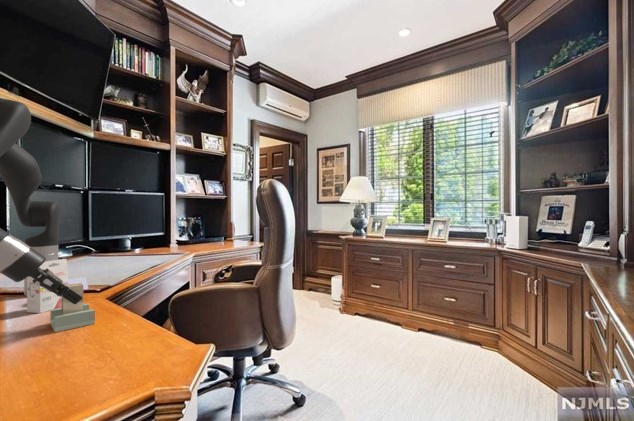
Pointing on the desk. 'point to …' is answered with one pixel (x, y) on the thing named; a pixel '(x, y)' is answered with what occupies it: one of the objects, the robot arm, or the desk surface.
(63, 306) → the birch block
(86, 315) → the sage green grooved bar
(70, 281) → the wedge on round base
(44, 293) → the ink cartridge box
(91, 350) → the desk surface
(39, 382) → the desk surface
